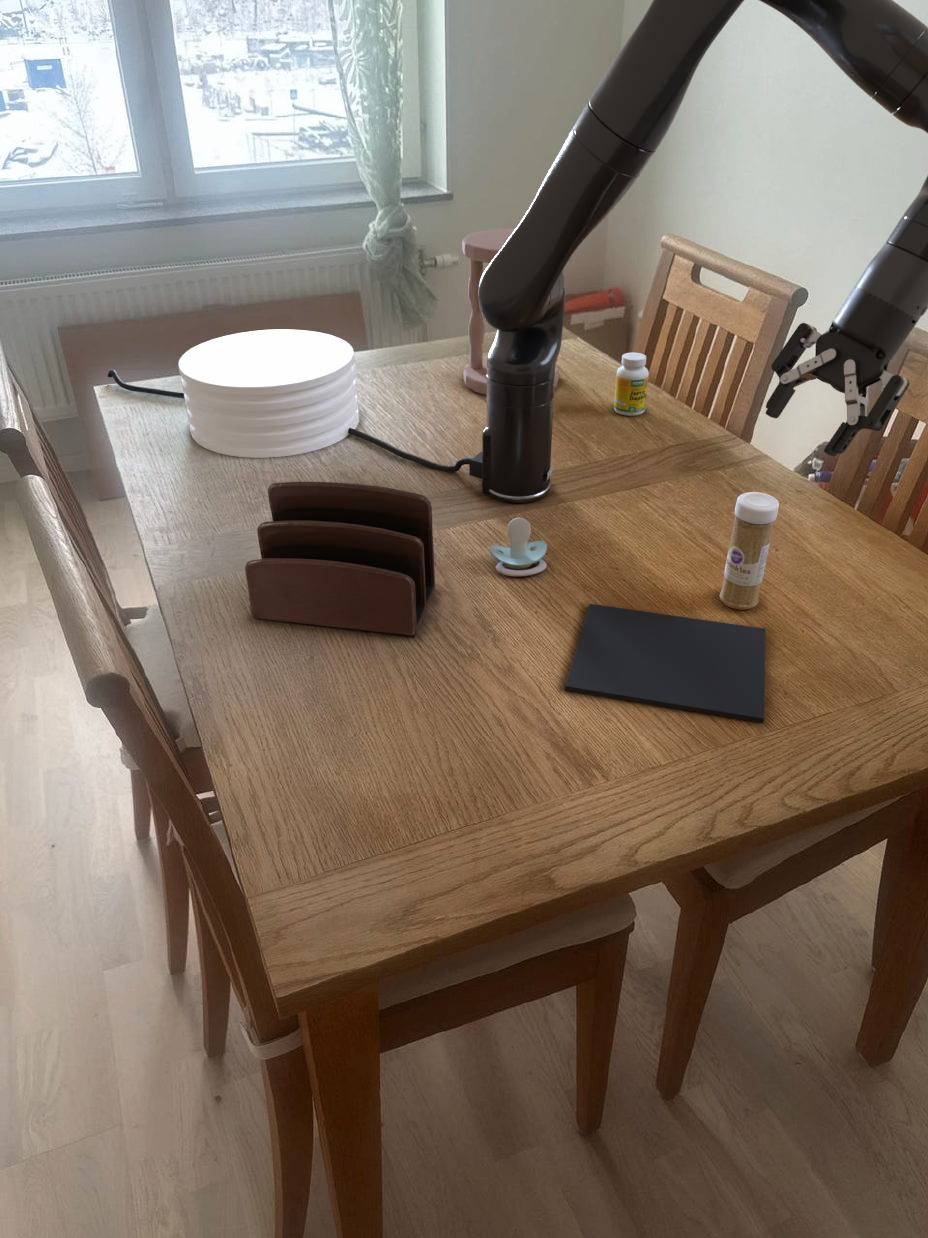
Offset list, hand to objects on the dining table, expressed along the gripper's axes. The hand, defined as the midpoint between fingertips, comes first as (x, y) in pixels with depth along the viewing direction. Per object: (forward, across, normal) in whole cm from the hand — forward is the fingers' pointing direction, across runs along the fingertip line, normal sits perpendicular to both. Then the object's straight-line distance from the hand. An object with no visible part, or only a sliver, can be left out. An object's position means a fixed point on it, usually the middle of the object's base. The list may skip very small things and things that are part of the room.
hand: (799, 434), depth 104 cm
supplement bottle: (+16, -44, +32) cm, 57 cm away
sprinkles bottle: (+20, +6, 0) cm, 20 cm away
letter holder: (+40, -21, -33) cm, 56 cm away
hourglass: (+23, -67, +27) cm, 76 cm away
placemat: (+25, +9, -15) cm, 30 cm away
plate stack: (+42, -76, -12) cm, 87 cm away
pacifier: (+30, -16, -14) cm, 36 cm away
